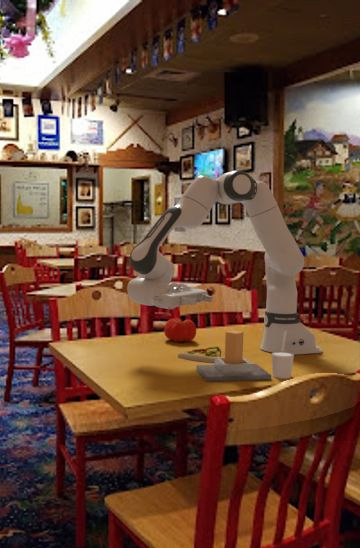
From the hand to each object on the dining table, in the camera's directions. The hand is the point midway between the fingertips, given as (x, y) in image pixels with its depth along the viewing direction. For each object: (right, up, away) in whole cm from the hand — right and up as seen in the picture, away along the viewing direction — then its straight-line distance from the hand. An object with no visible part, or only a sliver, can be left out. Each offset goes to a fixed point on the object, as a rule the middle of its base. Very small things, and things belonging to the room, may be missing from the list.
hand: (203, 300), depth 205 cm
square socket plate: (+9, -23, -5) cm, 25 cm away
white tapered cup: (+24, -23, -5) cm, 34 cm away
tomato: (-8, -18, +43) cm, 47 cm away
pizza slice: (+2, -21, +21) cm, 30 cm away
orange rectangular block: (+9, -21, -5) cm, 24 cm away
